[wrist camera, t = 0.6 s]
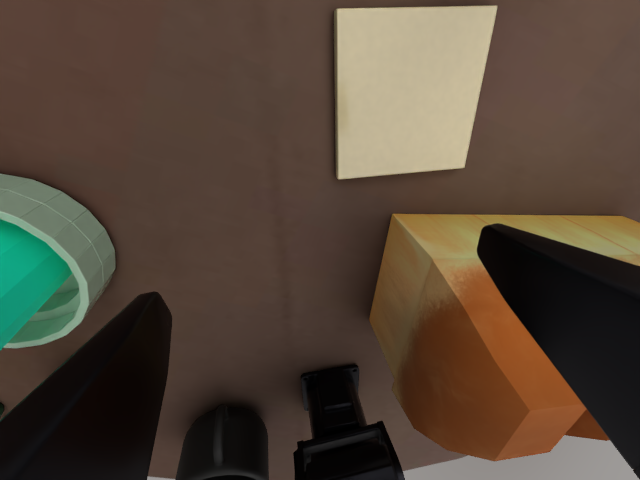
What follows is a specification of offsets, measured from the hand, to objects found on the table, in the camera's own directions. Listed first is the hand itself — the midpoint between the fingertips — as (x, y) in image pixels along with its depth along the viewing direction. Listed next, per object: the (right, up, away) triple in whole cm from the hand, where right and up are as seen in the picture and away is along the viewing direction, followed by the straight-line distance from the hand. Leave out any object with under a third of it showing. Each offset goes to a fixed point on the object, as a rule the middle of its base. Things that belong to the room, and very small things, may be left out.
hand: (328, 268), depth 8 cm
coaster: (+6, +10, +12) cm, 17 cm away
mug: (-11, -19, +26) cm, 34 cm away
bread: (+17, -2, +22) cm, 28 cm away
